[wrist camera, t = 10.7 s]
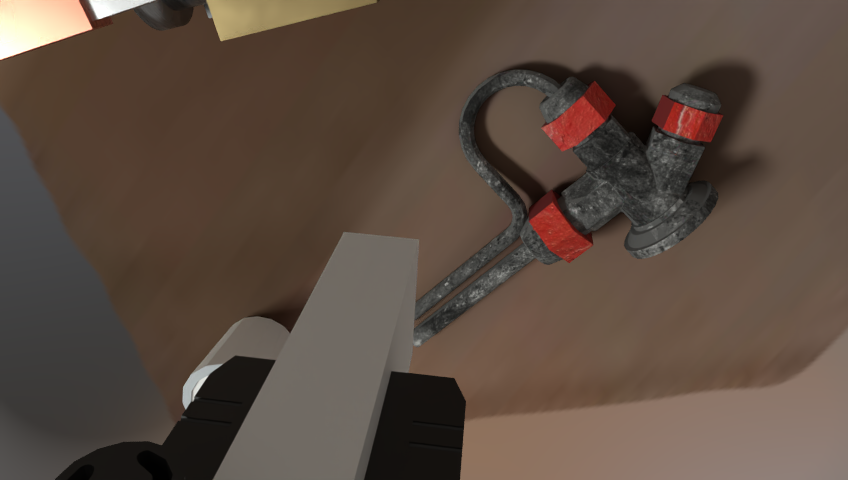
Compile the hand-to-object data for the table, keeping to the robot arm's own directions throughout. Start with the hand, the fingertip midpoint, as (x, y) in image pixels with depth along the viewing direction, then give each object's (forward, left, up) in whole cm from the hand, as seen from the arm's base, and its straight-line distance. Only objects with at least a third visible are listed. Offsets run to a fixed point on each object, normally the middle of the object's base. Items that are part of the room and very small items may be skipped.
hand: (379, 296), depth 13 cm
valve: (-3, +10, -30) cm, 32 cm away
